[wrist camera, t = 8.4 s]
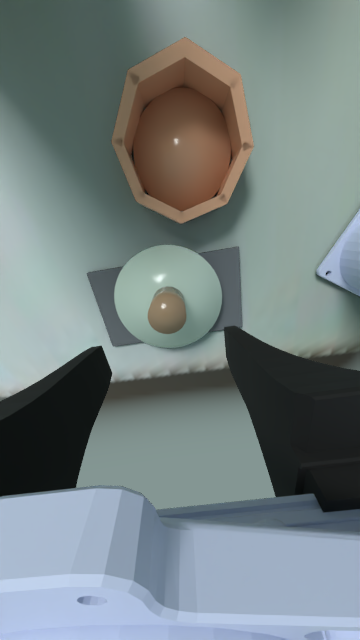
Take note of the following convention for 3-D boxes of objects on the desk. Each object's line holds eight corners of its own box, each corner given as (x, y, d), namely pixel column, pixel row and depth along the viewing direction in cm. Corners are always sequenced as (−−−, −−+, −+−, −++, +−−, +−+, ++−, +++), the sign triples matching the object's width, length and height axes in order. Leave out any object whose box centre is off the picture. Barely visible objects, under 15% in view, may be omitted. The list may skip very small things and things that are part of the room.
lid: (239, 272, 18) (257, 284, 14) (192, 355, 22) (196, 383, 18) (137, 223, 17) (124, 221, 12) (104, 322, 20) (86, 346, 16)
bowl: (259, 120, 14) (276, 98, 12) (206, 237, 17) (211, 238, 15) (148, 49, 13) (142, 7, 10) (112, 191, 16) (101, 184, 14)
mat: (237, 246, 18) (238, 246, 17) (240, 325, 21) (241, 326, 21) (88, 272, 19) (86, 273, 18) (113, 344, 22) (112, 346, 21)
